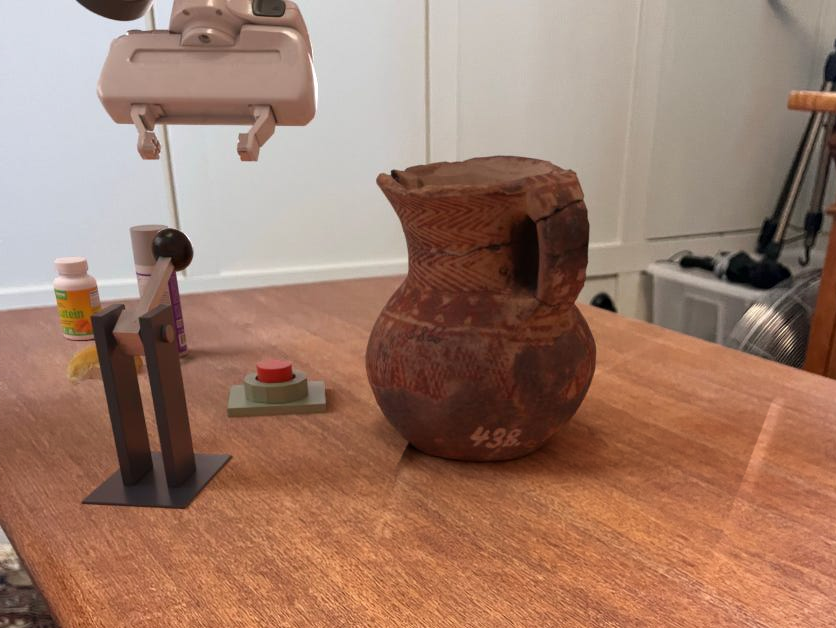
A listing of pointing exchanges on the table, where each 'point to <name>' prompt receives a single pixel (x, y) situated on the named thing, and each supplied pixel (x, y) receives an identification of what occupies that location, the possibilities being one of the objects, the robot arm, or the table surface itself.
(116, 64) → the robot arm
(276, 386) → the switch box
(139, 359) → the yellow curved piece
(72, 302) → the supplement bottle
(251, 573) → the table surface
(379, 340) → the jug
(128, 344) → the ball knob lever
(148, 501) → the dark wooden stand
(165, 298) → the container
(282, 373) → the button
